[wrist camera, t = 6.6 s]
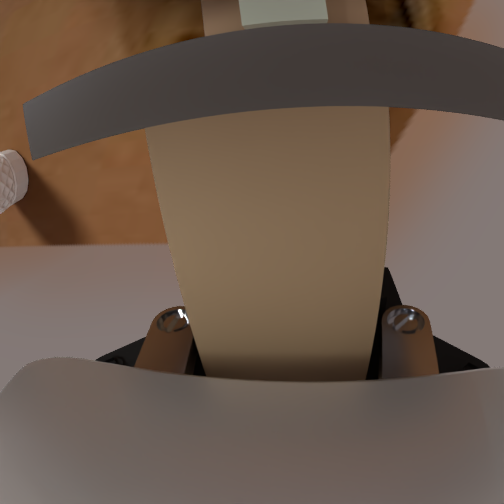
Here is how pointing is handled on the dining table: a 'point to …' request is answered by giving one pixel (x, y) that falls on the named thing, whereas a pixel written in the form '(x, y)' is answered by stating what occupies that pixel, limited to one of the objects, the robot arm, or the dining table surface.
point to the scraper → (275, 175)
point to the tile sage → (281, 12)
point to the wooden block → (229, 19)
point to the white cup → (12, 178)
